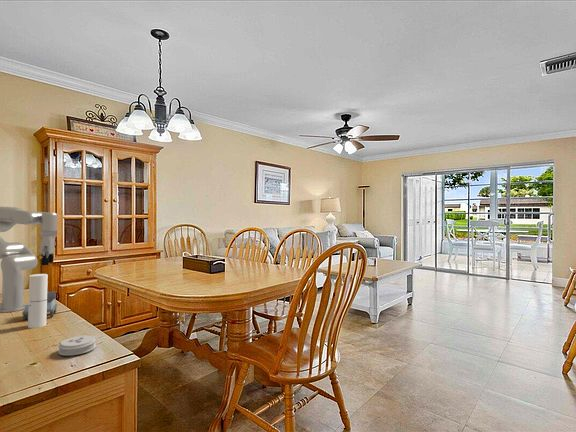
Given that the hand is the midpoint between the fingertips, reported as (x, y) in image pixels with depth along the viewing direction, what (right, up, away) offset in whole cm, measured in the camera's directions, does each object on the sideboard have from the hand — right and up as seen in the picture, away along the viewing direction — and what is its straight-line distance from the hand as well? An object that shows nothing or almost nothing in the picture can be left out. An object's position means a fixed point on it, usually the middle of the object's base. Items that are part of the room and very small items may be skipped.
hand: (47, 263), depth 180 cm
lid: (+53, -27, -53) cm, 80 cm away
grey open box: (+3, -27, -9) cm, 29 cm away
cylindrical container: (+13, -27, -24) cm, 38 cm away
